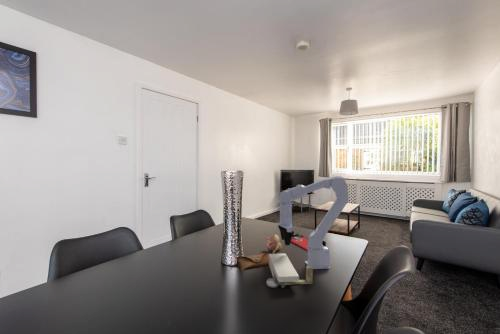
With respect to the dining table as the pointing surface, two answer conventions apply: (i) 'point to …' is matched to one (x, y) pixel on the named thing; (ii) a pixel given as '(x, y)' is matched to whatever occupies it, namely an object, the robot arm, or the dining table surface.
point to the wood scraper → (308, 280)
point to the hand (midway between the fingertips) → (285, 242)
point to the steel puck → (272, 282)
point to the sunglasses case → (253, 261)
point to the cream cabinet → (282, 268)
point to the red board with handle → (302, 241)
